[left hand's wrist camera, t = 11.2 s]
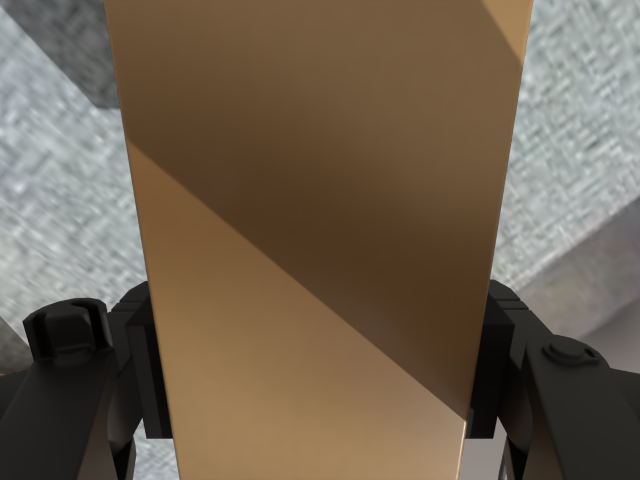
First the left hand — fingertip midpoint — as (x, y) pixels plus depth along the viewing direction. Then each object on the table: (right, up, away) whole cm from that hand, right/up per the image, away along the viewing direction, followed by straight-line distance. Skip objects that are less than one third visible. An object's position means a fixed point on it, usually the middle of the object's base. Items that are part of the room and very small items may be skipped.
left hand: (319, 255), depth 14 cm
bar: (0, +32, -11) cm, 33 cm away
